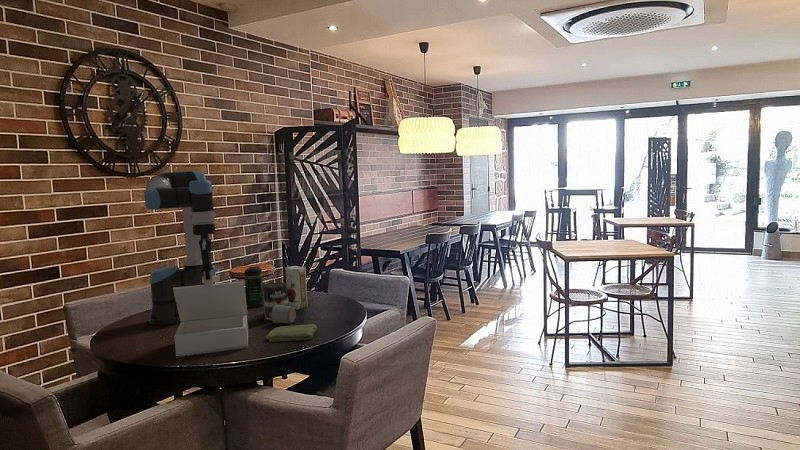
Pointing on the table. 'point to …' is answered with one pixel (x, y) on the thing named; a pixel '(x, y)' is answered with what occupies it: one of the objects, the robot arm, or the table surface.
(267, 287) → the coffee can
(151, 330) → the table surface
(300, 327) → the washcloth
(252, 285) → the coffee jar
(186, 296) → the lid
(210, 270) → the robot arm
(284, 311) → the ceramic mug
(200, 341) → the box
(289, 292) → the juice carton
